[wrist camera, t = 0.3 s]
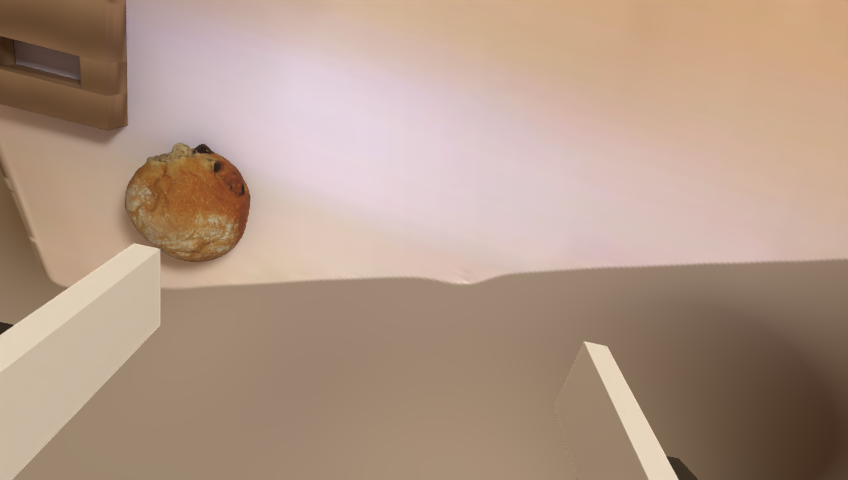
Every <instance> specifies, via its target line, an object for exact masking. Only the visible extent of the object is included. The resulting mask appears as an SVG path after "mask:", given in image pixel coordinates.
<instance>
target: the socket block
mask: <svg viewBox="0 0 848 480" xmlns="http://www.w3.org/2000/svg"><path fill="white" fill-rule="evenodd" d="M13 39H14V40H18V41H22V42H26V43H30V44H33V45H37V46H41V47H45V48H49V49H53V50H57V51H60V52H64V53H68V54H72V55H76V56H80V74H81V81H79V80H75V79H72V78H68V77H64V76H60V75H56V74H52V73H48V72H44V71H40V70H36V69H32V68H28V67H24V66H21V65H17V64H16V63H15V54H14V45H13ZM0 104H3V105H8V106H12V107H16V108H20V109H24V110H28V111H32V112H36V113H40V114H44V115H48V116H52V117H56V118H60V119H64V120H68V121H72V122H76V123H80V124H84V125H88V126H92V127H96V128H100V129H104V130H108V131H109V130H112V129H115V128H119V127H122V126H126V125H127V57H126V0H0Z"/></svg>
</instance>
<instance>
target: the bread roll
mask: <svg viewBox="0 0 848 480" xmlns="http://www.w3.org/2000/svg"><path fill="white" fill-rule="evenodd" d="M166 166H167V167H166ZM125 208H126V211H127V213H128V215H129V217H130V219H131V221H132V222H133V224H134V225H135V227H136V228H137V230H138V231H139V232H140V233H141V235H142V236H143V237H144V238H145V239H147V240H148V241H149V242H150V243H152V244H153V245H155V246H157V247H158V248H161V249H162V250H163V251H164V252H165V253H167V254H168V255H170V256H172V257H174V258H177V259H180V260H184V261H190V262H201V261H208V260H212V259H215V258H218V257H220V256H223V255H224V254H226V253H227V252H229V251H230V250H231V249H232V248H234V247H235V245H236V244H237V243H238V241H239V239H240V238H241V237H242V236H243V233H244V230H245V228H246V223H247V217H248V214H249V208H250V194H249V190H248V187H247V185H246V183H245V181H244V179H243V177H242V176H241V174H240V172H239V171H238V169H237V168H236V167H235V166H234V165H232V164H231V163H230V162H229V161H228V160H226V159H225V158H224V157H222V156H220V155H218V154H216V153H214V152H213V151H211V150H210V149H209V147H208V146H206V145H205V144H201V145H199V146H198V147H196V148H194V149H190V147H189V146H188V145H184V144H181V143H178V144H175V145H174V147H173V149H172V152H171V153H169V154H162V155H160V156H154V157H148V159H147V162H146V164H145V165H143V166H142V167H141V168H139V169H138V170H137V171H136V173H135V174H134V176H133V178H132V179H131V181H130V182H129V184H128V186H127V190H126V196H125Z"/></svg>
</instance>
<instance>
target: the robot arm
mask: <svg viewBox="0 0 848 480" xmlns="http://www.w3.org/2000/svg"><path fill="white" fill-rule="evenodd" d="M159 326H160V249H158V248H154V247H149V246H145V245H140V244H135V243H134V244H132V245H131V246H129V247H128V248H126V249H125V250H123V251H122V252H120V253H119V254H118V255H116V256H115V257H113V258H112V259H110V260H109V261H107V262H106V263H104V264H103V265H101V266H100V267H99V268H97V269H96V270H94V271H93V272H91V273H90V274H88V275H87V276H85V277H84V278H83V279H81V280H80V281H78V282H77V283H75V284H74V285H72V286H71V287H69V288H68V289H67V290H65V291H64V292H62V293H61V294H60V295H58V296H56V297H55V298H54V299H52V300H51V301H49V302H48V303H46V304H45V305H43V306H42V307H40V308H39V309H37V310H36V311H34V312H33V313H32V314H30V315H29V316H27V317H26V318H24V319H23V320H21V321H20V322H18V323H17V324H16V325H12V324H7V323H2V322H0V480H12V479H14V477H15V476H16V475H17V474H18V473H19V472H20V471H21V470H22V469H23V468H24V467H25V466H26V465H27V464H28V463H29V462H30V461H31V460H32V459H33V458H34V457H35V456H36V455H37V453H38V452H39V451H40V450H41V449H42V448H43V447H44V446H45V445H46V444H47V443H48V442H49V441H50V440H51V439H52V438H53V436H55V435H56V434H57V433H58V432H59V430H60V429H61V428H62V427H63V426H64V425H65V424H66V423H67V422H68V421H69V420H70V419H71V418H72V417H73V416H74V415H75V414H76V413H77V412H78V411H79V410H80V408H81V407H82V406H83V405H84V404H85V403H86V402H87V401H88V400H89V399H90V398H91V397H92V396H93V395H94V394H95V393H96V392H97V391H98V390H99V389H100V388H101V387H102V386H103V384H104V383H105V382H106V381H107V380H108V379H109V378H110V377H111V376H112V375H113V374H114V373H115V372H116V371H117V370H118V369H119V368H120V367H121V365H122V364H123V363H124V362H125V361H126V360H127V359H128V358H129V357H130V356H131V355H132V354H133V353H134V352H135V351H136V350H137V349H138V348H139V347H140V346H141V345H142V344H143V343H144V342H145V340H146V339H147V338H148V337H149V336H150V335H151V334H152V333H153V332H154V331H155V330H156V329H157V328H158V327H159ZM554 409H555V412H556V416H557V419H558V422H559V425H560V429H561V432H562V435H563V438H564V442H565V445H566V448H567V451H568V455H569V458H570V461H571V465H572V468H573V471H574V474H575V478H576V480H697V478H696V477H695V476H694V475H693V474H692V472H691V471H690V470H689V469H688V468H687V467H686V466H685V465H684V464H683V463H682V462H681V461H680V459H678V458H673V457H668V456H666V455H665V454H664V452H663V450H662V448H661V446H660V444H659V443H658V441H657V439H656V437H655V435H654V433H653V431H652V429H651V428H650V426H649V424H648V422H647V420H646V418H645V416H644V415H643V413H642V411H641V409H640V407H639V405H638V403H637V401H636V400H635V398H634V396H633V394H632V392H631V390H630V388H629V387H628V385H627V383H626V381H625V379H624V377H623V375H622V373H621V372H620V370H619V368H618V366H617V364H616V362H615V361H614V359H613V357H612V355H611V353H610V351H609V349H608V347H607V346H603V345H598V344H594V343H589V342H583V344H582V347H581V349H580V351H579V353H578V355H577V357H576V359H575V362H574V364H573V366H572V368H571V370H570V372H569V374H568V377H567V379H566V381H565V383H564V385H563V387H562V390H561V392H560V394H559V396H558V398H557V400H556V402H555V405H554Z"/></svg>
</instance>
